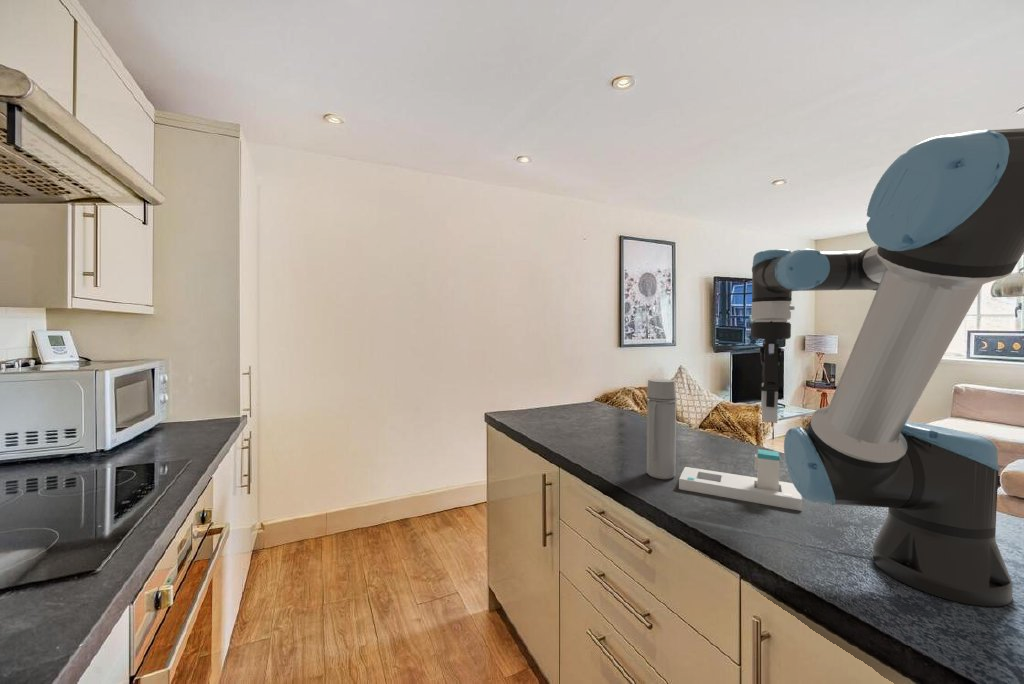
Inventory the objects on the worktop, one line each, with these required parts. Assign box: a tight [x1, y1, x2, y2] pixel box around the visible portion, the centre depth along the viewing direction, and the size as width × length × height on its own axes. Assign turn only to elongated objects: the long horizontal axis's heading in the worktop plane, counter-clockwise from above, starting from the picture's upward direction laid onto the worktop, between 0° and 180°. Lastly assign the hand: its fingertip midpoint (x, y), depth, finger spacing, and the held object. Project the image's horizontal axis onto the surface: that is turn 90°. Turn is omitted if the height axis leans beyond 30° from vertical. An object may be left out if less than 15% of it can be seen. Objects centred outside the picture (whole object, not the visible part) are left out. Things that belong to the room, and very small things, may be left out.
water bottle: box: [645, 378, 678, 480], centre depth 109 cm, size 9×8×25 cm
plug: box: [754, 449, 780, 492], centre depth 94 cm, size 4×5×10 cm
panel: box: [678, 466, 803, 512], centre depth 97 cm, size 10×24×3 cm, turn 60°
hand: (768, 416), depth 94 cm, fingers open, 13 cm apart
